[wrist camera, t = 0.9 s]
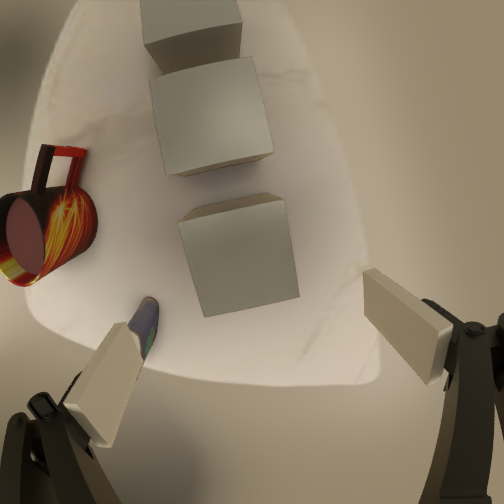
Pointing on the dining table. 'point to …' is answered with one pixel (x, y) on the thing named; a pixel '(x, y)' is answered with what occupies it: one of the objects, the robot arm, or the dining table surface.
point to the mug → (46, 221)
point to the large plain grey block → (240, 254)
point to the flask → (144, 326)
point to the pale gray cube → (210, 117)
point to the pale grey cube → (190, 32)
